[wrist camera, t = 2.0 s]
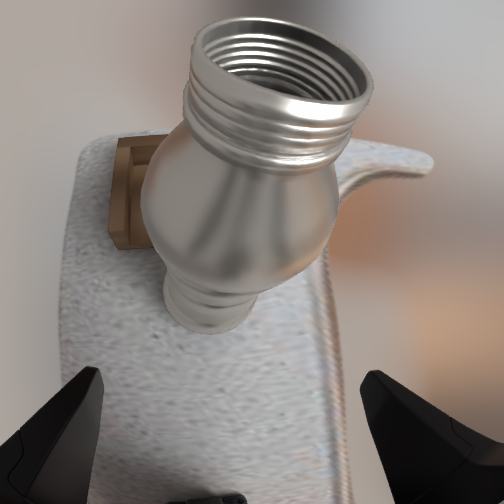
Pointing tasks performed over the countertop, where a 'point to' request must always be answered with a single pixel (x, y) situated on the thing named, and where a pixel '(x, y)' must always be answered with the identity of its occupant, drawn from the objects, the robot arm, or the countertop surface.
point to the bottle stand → (130, 191)
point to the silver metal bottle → (250, 165)
